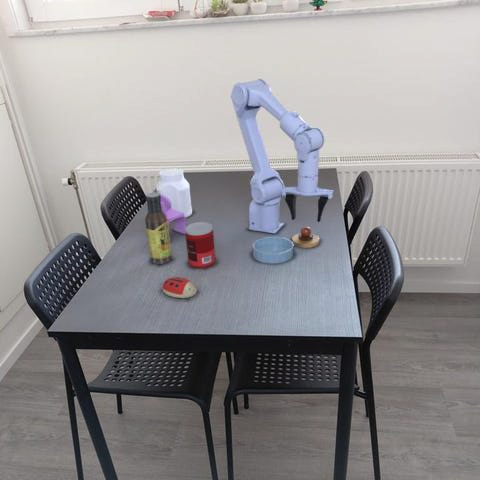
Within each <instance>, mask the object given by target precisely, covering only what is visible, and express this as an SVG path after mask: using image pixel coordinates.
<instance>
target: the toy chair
mask: <svg viewBox="0 0 480 480" xmlns="http://www.w3.org/2000/svg"><path fill="white" fill-rule="evenodd" d="M160 195H161V200H160V201H161V207H162V211H163V212H164V214H165V215H166V217H167V220H168V226H169V224H170V223H171V222H173V221H174V220H175V224H174V227H173V231H175V232H178V233H180V234H183V235H185V228H186V227H187V225H186V218H185V216H184V213H182V212H179V211H176V210H174V209H171V201H170V200H169V199H168V198H167V197H166V196H164V195H163V194H160Z"/></svg>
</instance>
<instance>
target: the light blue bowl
mask: <svg viewBox="0 0 480 480" xmlns="http://www.w3.org/2000/svg"><path fill="white" fill-rule="evenodd" d="M294 246H295V245H294V244H293V242H292V240H290V239H289V238H286V237H282V236H265V237H261V238H259V239H257V240H255V241H254V242H252V247H251V248H252V258H254V259H255V260H256V261H258V262H260V263H264V264H269V265H270V264H281V263H286V262H288V261H289V260H291V259H292V258H293V257H294Z"/></svg>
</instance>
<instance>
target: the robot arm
mask: <svg viewBox="0 0 480 480" xmlns="http://www.w3.org/2000/svg"><path fill="white" fill-rule="evenodd" d="M230 98H231V102H232V105H233V109H234V112H235V116H236V120H237V123H238V126H239V130H240V132H241V135H242V136H241V137H242V139H243V142H244V145H245V148H246V152H247V154H248V158H249V161H250V164H251V168H252V170H253V176H252V177H251V180H250V181H249V185H250V189H251V191H250V192H251V197H252V200H251V202H250V203H249V209H248V210H249V211H248V218H249V219H248V220H249V221H248V222H249V227H248V230H250V231H254V232H255V231H257V232H264V233H269V234H276V233H277V232H279V230H281V228H283V226H284V225H285V223H284V222H280V211H281V209H280V203H281V200H282V197H285V198H284V201H285V203H286V204H287V207H288V209H289V213H290V215H291V217H290V218H291V220H292V221H295V219H296V216H297V209H296V205H297V197H308V198H309V197H311V198H318V200H317V219H316V220H317V223H320V222H321V220H322V216H323V212H324V209H325V207H326V205H327V202H328V201H329V199H330V200H332V199H333V196H334V190H333V189H327V188H322V187H318V183H319V162H320V149H322V148H323V146H324V144H325V135H324V134H323V131H322V130H321V129H320V128H319V127H313V126H311V125H310V124H309V123H307V122H306V121H305V120H304V119H303V118H302V117H301V116H300V113H299V112H298V111H295V110H290V111H288V109H287V108H286V107H285V105H283V103H281V101H280V100H279V99H278V98H277V97H276V96H275V94H274V93H273V92H272V88H271V85H270V84H268V82H267V81H265V80H264V79H263V78H258V79H255V80H250V81H245V82H236V83H235V84H234V85H233V87H232V91H231V94H230ZM262 108H263V109H264V110H266V111H267V113H269V114H270V115H272V116H273V117H274V118H275V119H276V120H277V121H278V122H279V128H280V129H281V131H282V132H283V133H284V134H285V135H286V136H287V137H288V138H290V140H291V141H292V142H293V147H294V149H295V151H296V158H297V186H285V183H284V182H283V180H282V178H281V176H280V174H279V172H277V171H276V170H275V169H273V168H272V167H271V164H270V160H269V157H268V154H267V151H266V147H265V145H264V141H263V138H262V135H261V131H260V127H259V124H258V121H257V118H256V117H257V114H258V112H259V111H260V110H261V109H262Z"/></svg>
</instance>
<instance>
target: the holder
mask: <svg viewBox="0 0 480 480" xmlns="http://www.w3.org/2000/svg"><path fill="white" fill-rule="evenodd" d="M291 241H292V242H293V244H294V246H295V247H297V248H302V249H306V248H307V249H308V248H309V249H310V248H314V247H316V246H318V245H319V244H320V236H319V235H317V234H315V233H312V232H311V235H310V236H309V237H303V236H302V235H301V232H300V233H296V234H294V235H293V236H292V237H291Z"/></svg>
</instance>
